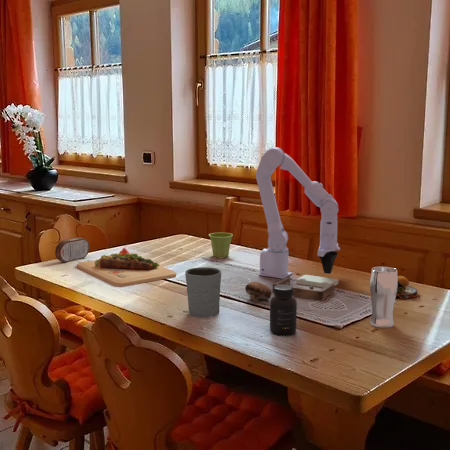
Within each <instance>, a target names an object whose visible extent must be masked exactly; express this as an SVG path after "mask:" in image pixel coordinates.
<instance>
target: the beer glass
mask: <svg viewBox="0 0 450 450" xmlns="http://www.w3.org/2000/svg"><path fill="white" fill-rule="evenodd" d="M397 277H398V269H397V268H394V267H390V266H374V267H372V268H371V272H370V280H369V281H370V282H369V294H370V301H371V316H370V320H369V324H370V325H371V326H372V327H374V328H375V327H376V328H380V329H390V328H393V327H394V325H395V324H394V315H393V313H394V307H395V306H394V305H395V302H396V299H397V298H396V297H397V296H396V293H397V283H398V279H397Z"/></svg>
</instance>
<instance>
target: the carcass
mask: <svg viewBox="0 0 450 450" xmlns="http://www.w3.org/2000/svg"><path fill="white" fill-rule="evenodd" d="M290 281H291V277H289V276H287V277H285V278H283V279H282V278H281V279H280V280H279V281H276V282H275V283H273V284H272V293H274V287H275V286H276V285H290V286H292V285H291V282H290ZM292 287H293V295H292V296H293V297H302V298H308V299H313V300H321V301H323V300H324V299H326V298H327V297H328V296H330V295H331V294H333V293H334V292H335V286H334V284H329V285H328V286H326V287H324V288H322V289H320V290H319V289H314V286H309V288H307V287H299V286H292Z"/></svg>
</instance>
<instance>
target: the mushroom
mask: <svg viewBox="0 0 450 450" xmlns="http://www.w3.org/2000/svg"><path fill="white" fill-rule="evenodd" d="M244 289H245V292H246V294H247V295H249V298H250V300H252V301H253V302H255V303H258V302H259V300H262V301H263V300H269V299H271V298H272V291H271V288H270V287H268V285H266V284H264V283H261V282H258V281H251V282H250V281H249V282H248V283H247V284H245V287H244Z"/></svg>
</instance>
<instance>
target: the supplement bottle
mask: <svg viewBox="0 0 450 450" xmlns="http://www.w3.org/2000/svg"><path fill="white" fill-rule="evenodd" d="M269 299H270V300H269V332H270V333H271V334H272V335H274V336H277V337H289V336H292V335H295V334H296V332H297V318H298V317H297V316H298V315H297V312H298V310H297V309H298V307H297V305H298V301H297V298H296V296H294V295H293V287H292V285H291V284H290V285H276V286H275V287H274V292H273V296H271V297H270V298H269Z"/></svg>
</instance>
